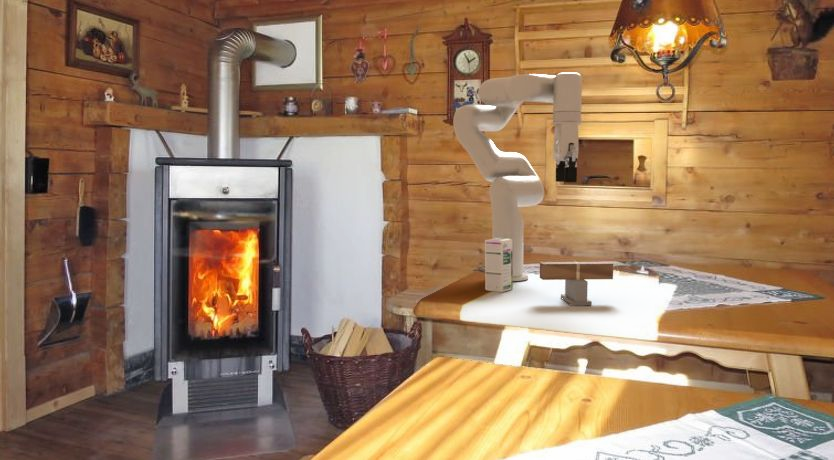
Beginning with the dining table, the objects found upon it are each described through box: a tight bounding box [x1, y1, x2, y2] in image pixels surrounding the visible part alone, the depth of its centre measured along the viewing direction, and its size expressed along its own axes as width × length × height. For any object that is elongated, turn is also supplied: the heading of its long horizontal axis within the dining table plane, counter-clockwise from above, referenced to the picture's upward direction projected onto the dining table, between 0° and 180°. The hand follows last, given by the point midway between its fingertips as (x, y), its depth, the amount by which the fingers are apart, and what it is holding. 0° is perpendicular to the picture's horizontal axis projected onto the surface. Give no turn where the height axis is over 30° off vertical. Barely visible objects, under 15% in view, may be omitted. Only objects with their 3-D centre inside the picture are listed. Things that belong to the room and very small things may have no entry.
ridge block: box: [560, 279, 593, 306], centre depth 181 cm, size 11×5×6 cm, turn 3°
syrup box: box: [484, 238, 514, 293], centre depth 198 cm, size 6×6×14 cm
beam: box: [539, 261, 614, 281], centre depth 181 cm, size 4×18×4 cm, turn 93°
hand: (565, 181), depth 195 cm, fingers open, 9 cm apart
